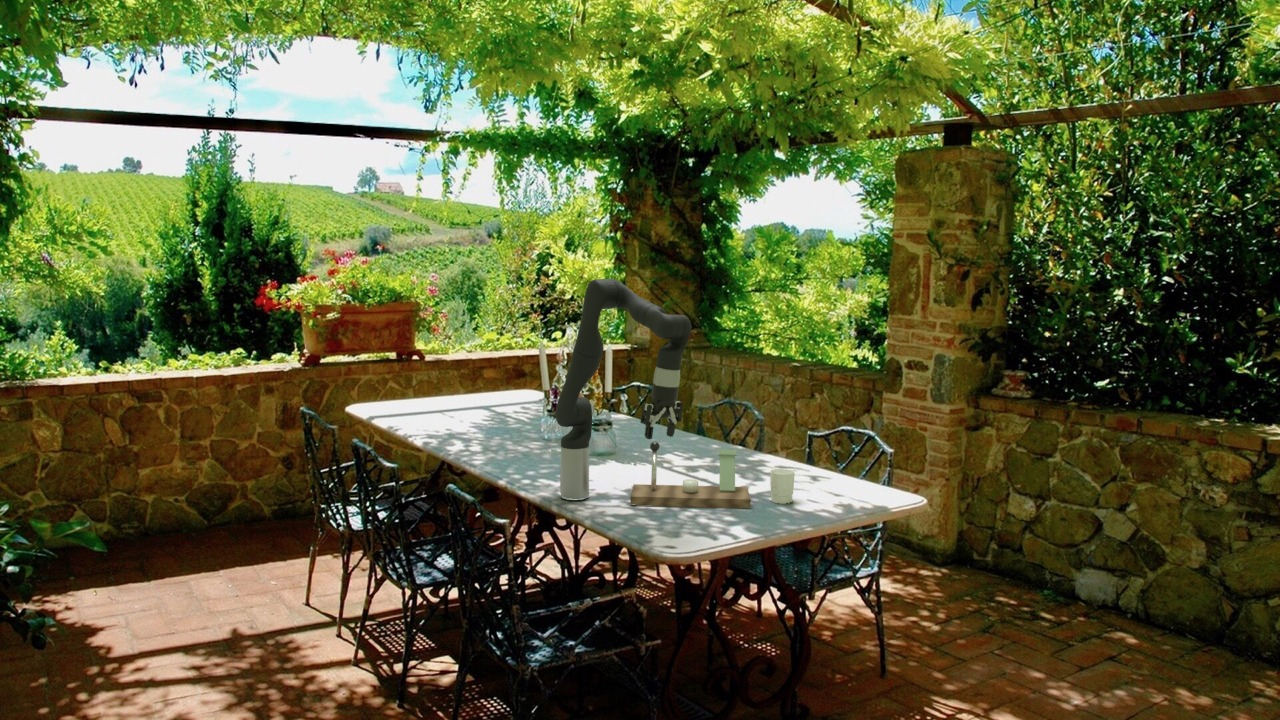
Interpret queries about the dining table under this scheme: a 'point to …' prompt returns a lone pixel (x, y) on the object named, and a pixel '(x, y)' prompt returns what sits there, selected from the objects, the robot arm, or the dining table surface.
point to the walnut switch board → (690, 497)
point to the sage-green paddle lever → (727, 469)
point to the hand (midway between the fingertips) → (659, 437)
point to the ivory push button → (690, 486)
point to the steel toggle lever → (654, 463)
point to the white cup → (782, 485)
